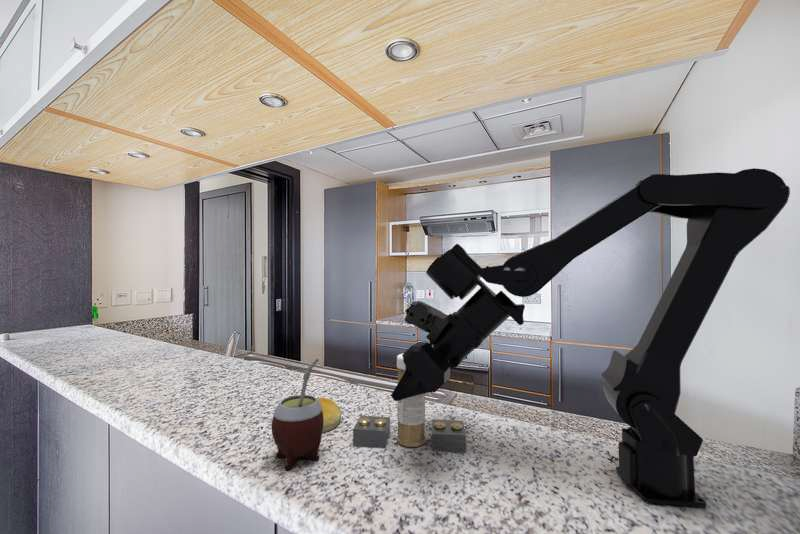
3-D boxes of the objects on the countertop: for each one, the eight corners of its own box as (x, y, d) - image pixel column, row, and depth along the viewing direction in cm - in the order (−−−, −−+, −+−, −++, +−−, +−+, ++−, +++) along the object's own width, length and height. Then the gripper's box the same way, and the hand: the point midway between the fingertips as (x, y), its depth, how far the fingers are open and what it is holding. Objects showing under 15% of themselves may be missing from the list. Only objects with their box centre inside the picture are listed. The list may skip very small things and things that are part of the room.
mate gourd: (286, 444, 50) (288, 346, 50) (335, 448, 49) (336, 347, 49) (258, 472, 42) (261, 357, 43) (315, 477, 41) (317, 359, 42)
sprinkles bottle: (399, 433, 53) (399, 351, 54) (427, 435, 52) (426, 352, 53) (394, 447, 49) (394, 357, 49) (424, 450, 48) (423, 358, 49)
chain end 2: (463, 436, 52) (463, 418, 52) (466, 452, 47) (465, 432, 47) (432, 434, 53) (432, 416, 53) (431, 450, 48) (431, 430, 48)
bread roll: (282, 436, 53) (283, 411, 53) (304, 414, 62) (304, 392, 62) (332, 438, 52) (332, 413, 52) (346, 415, 61) (346, 394, 61)
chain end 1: (390, 432, 54) (390, 414, 54) (385, 447, 49) (385, 428, 49) (360, 430, 54) (360, 413, 54) (352, 445, 49) (353, 426, 49)
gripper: (449, 283, 59) (393, 340, 62) (417, 284, 42) (342, 362, 45) (494, 329, 56) (433, 386, 59) (480, 350, 38) (394, 429, 42)
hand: (404, 388), depth 51 cm, fingers open, 9 cm apart
